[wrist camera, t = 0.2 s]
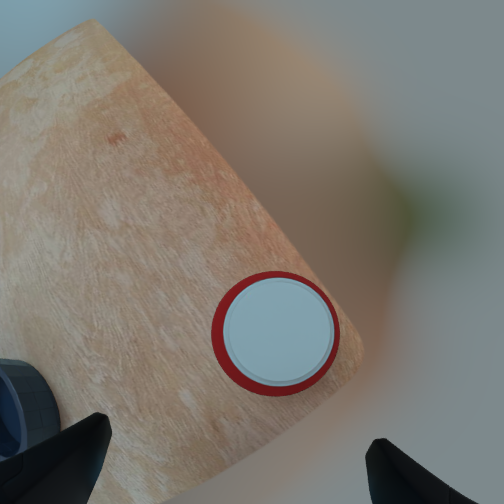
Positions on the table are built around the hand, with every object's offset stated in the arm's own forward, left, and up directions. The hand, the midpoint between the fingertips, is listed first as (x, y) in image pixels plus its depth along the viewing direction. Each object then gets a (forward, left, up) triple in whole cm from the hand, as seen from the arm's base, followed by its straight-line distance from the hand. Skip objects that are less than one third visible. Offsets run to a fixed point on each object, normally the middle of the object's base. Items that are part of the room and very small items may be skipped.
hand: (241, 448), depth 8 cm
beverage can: (+3, -3, -15) cm, 16 cm away
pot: (+5, +23, -15) cm, 28 cm away
